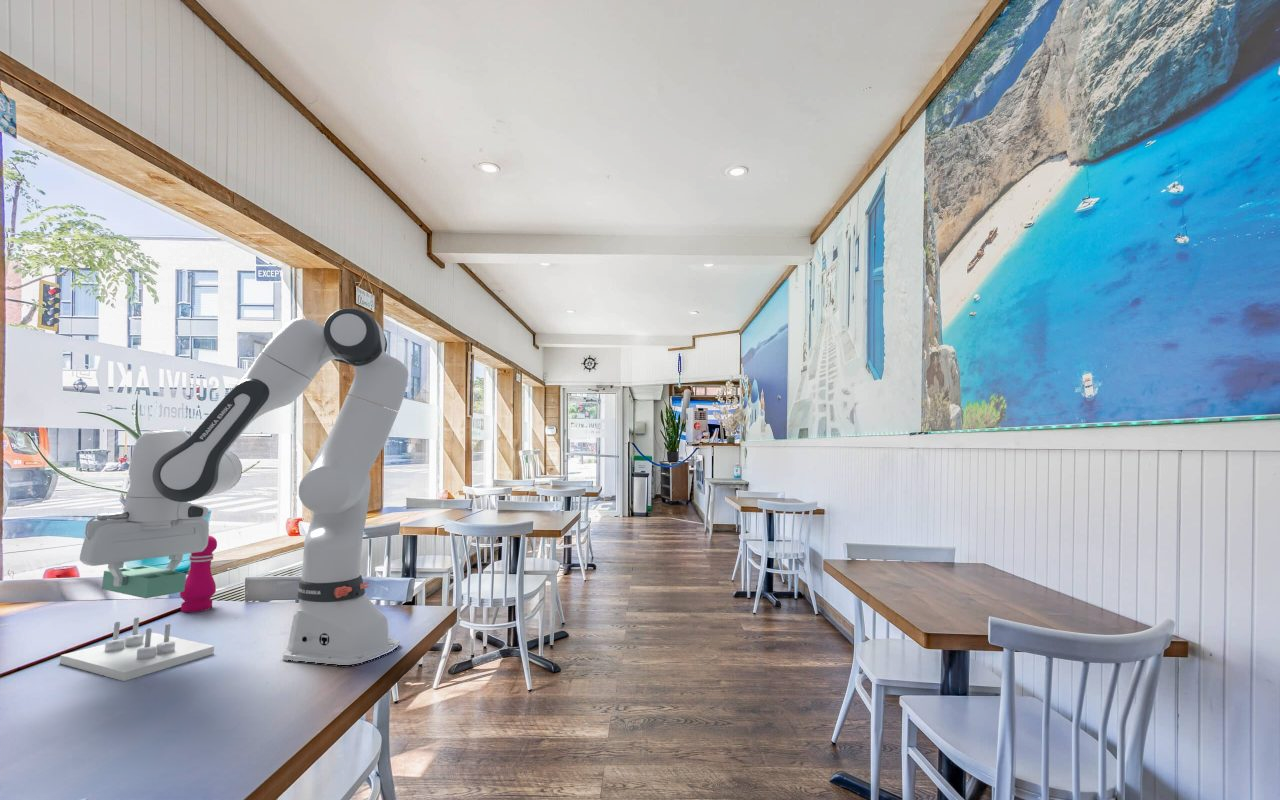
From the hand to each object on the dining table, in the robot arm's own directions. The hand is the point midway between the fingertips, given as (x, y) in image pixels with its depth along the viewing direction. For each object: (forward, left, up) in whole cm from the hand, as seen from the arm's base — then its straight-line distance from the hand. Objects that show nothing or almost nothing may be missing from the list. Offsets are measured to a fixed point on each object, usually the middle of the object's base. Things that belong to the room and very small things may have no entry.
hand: (144, 581), depth 112 cm
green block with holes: (0, 0, -2) cm, 2 cm away
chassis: (0, 0, -15) cm, 15 cm away
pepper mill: (+26, -26, -15) cm, 40 cm away
